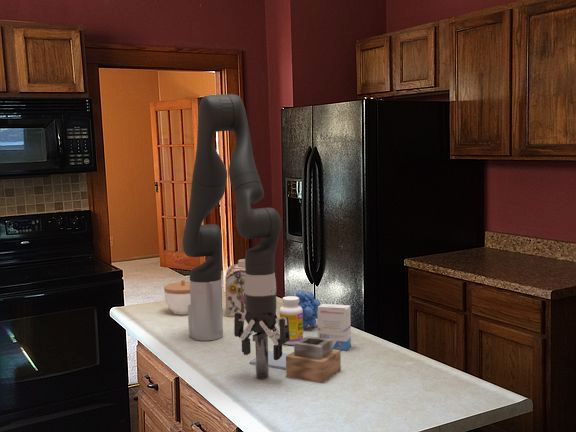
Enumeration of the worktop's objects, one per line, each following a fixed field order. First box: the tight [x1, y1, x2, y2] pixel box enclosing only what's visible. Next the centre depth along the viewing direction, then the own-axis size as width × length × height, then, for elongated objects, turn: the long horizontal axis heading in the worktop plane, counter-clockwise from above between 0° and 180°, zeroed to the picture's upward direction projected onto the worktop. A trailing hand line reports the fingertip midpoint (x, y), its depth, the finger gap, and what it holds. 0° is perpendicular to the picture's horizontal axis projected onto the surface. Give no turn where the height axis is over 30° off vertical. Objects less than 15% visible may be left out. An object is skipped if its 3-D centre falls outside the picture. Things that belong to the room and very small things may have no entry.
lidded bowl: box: [163, 279, 191, 316], centre depth 224 cm, size 13×13×11 cm
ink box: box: [317, 303, 352, 352], centre depth 183 cm, size 9×5×12 cm, turn 71°
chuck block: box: [285, 335, 342, 383], centre depth 163 cm, size 10×10×8 cm
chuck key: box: [251, 333, 270, 380], centre depth 160 cm, size 3×6×11 cm, turn 151°
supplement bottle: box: [278, 295, 304, 346], centre depth 188 cm, size 7×7×13 cm
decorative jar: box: [224, 258, 246, 318], centre depth 221 cm, size 12×12×18 cm
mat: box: [249, 349, 290, 371], centre depth 172 cm, size 12×10×1 cm
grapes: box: [295, 290, 321, 330], centre depth 200 cm, size 12×7×12 cm, turn 117°
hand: (262, 356), depth 160 cm, fingers open, 8 cm apart
